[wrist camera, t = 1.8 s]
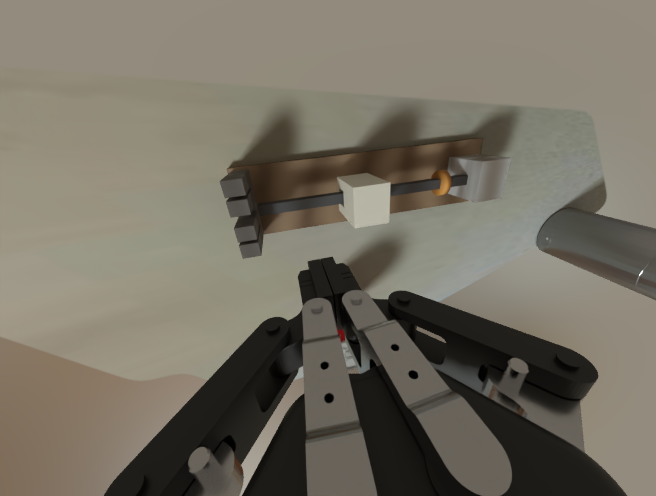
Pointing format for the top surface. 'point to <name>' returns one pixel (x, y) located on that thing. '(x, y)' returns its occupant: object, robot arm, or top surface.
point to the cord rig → (321, 174)
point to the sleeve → (364, 199)
